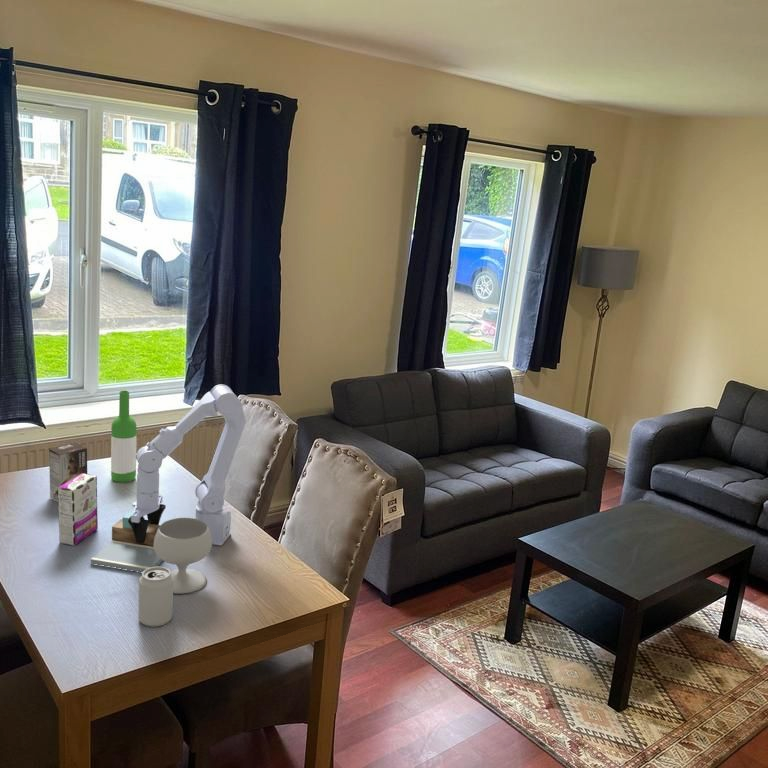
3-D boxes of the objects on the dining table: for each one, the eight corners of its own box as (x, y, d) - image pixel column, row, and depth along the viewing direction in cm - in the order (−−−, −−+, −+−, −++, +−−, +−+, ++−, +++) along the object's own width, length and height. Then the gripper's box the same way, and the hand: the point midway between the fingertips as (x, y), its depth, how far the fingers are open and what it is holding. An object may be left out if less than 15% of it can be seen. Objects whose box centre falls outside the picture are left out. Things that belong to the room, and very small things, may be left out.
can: (142, 609, 172) (143, 563, 169) (175, 611, 172) (176, 564, 169) (134, 628, 164) (135, 580, 161) (168, 629, 165) (170, 581, 162)
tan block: (168, 543, 204) (168, 526, 203) (160, 551, 199) (160, 534, 198) (120, 535, 206) (121, 519, 204) (111, 543, 201) (112, 526, 200)
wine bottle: (140, 480, 243) (141, 393, 236) (118, 485, 238) (118, 396, 230) (128, 472, 248) (129, 387, 241) (106, 477, 243) (107, 390, 235)
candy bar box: (82, 526, 208) (81, 472, 204) (98, 529, 207) (98, 475, 203) (57, 543, 198) (56, 486, 194) (74, 546, 197) (73, 490, 193)
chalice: (211, 568, 193) (214, 516, 189) (208, 597, 179) (211, 541, 176) (156, 568, 190) (157, 515, 186) (149, 597, 177) (150, 540, 173)
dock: (168, 554, 197) (168, 549, 197) (149, 574, 187) (149, 568, 186) (112, 545, 199) (112, 540, 199) (90, 564, 189) (90, 558, 188)
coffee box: (76, 490, 231) (76, 441, 227) (88, 496, 227) (88, 447, 223) (48, 498, 224) (48, 448, 220) (60, 504, 220) (60, 454, 216)
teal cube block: (143, 523, 203) (143, 513, 202) (136, 529, 199) (136, 519, 199) (129, 521, 204) (129, 511, 203) (122, 527, 200) (122, 517, 199)
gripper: (146, 478, 206) (145, 522, 209) (120, 497, 192) (120, 545, 195) (170, 482, 205) (168, 526, 208) (146, 502, 191) (145, 549, 194)
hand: (146, 536), depth 202 cm, fingers open, 7 cm apart
